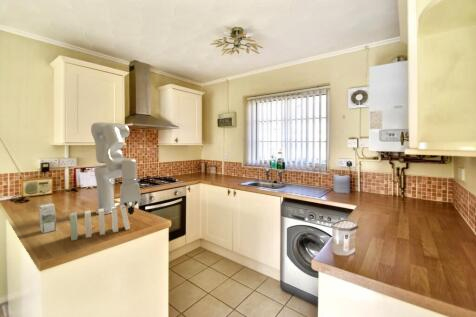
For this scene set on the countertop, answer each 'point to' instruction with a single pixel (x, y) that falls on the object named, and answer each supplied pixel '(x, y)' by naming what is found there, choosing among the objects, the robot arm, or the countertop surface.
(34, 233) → the countertop surface
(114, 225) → the domino
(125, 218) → the domino
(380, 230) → the countertop surface
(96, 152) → the robot arm
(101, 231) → the domino
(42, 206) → the syrup box
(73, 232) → the sage domino
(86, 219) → the domino
